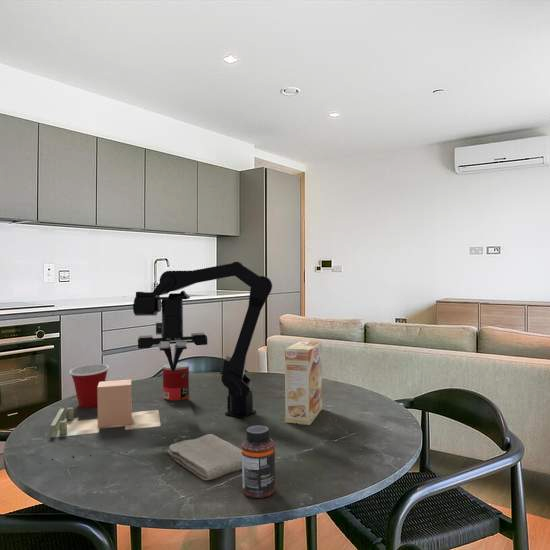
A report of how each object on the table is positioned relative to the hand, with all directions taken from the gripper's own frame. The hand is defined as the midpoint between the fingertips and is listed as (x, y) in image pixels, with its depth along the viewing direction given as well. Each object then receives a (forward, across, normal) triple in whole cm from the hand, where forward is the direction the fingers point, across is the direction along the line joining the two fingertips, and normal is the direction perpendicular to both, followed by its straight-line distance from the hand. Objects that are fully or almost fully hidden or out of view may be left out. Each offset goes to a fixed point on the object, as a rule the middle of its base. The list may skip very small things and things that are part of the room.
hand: (173, 371), depth 126 cm
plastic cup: (+12, +23, -13) cm, 29 cm away
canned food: (+12, -2, -13) cm, 18 cm away
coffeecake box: (+12, -34, +13) cm, 39 cm away
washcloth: (+13, -5, +34) cm, 36 cm away
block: (+11, +15, +6) cm, 19 cm away
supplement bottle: (+12, -11, +51) cm, 53 cm away
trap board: (+12, +17, +6) cm, 21 cm away
